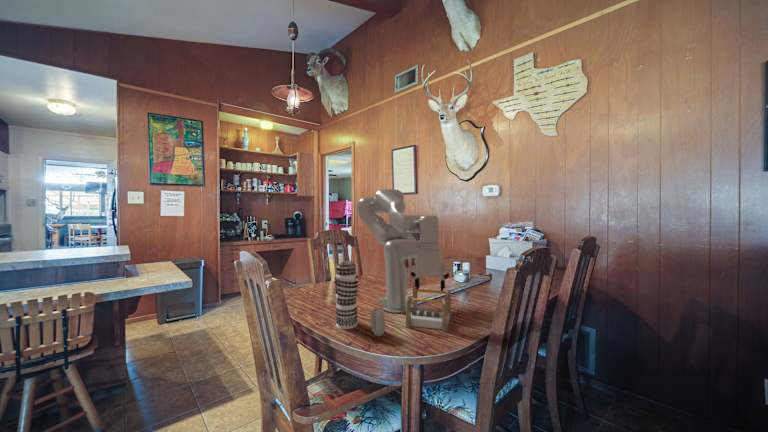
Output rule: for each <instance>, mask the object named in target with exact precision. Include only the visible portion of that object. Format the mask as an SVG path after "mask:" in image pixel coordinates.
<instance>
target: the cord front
mask: <svg viewBox="0 0 768 432" xmlns="http://www.w3.org/2000/svg"><path fill="white" fill-rule="evenodd" d="M410 300H411V302H413V301H417V302H422V303H435V304H442V303H443V302H442V300H441V299H428V298H427V299H426V298H418V297H417V298H413V297H411V299H410Z"/></svg>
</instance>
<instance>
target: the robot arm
mask: <svg viewBox="0 0 768 432" xmlns="http://www.w3.org/2000/svg"><path fill="white" fill-rule="evenodd" d="M404 197H405V196H404V194H403V192H402V191H400V190H399V189H393V188H392V189H390V188H385V189H384V188H383V189H379V190H377V191H376V192H375V194H374V196H367V197H366V196H365V197H362V198H360V199H359V200H358V202H357V203H356V210H357V211H356V212H357V215H358V217H359V219H360V220H361V221H362V223H363V224H364V225H365V226H366V227H367V228H368V229H369V230H370V232H371V234H372V235H373V236H374V238H375V239H376V240H377V242H378V243H379V244H381V245H383V247H382V248H383V256H384V261H385V262H384V263H385V297H377V303H379V304H383V305H382V309H383V311H385V312H388V313H392V314H393V313H394V314H395V313H396V314H400V313H401V314H402V313H406V296H408V285H407V284H408V281H407V280H408V272H409V273H410V275H411V277H413V279H414V287H416V289H420V278H419V277H420V276H425V277H439V278H440V291H444V289H446V280H447V279H448V278H449V277H450V275H451V273H452V271H453V268H450V267H449V266H447V265H445V264H444V263H443V256H442V251H441V249H440V244H439V242H440V238H439V235H440V234H439V217H438V216H437V215H424V214H404V211H405V209H406V204H405V202H404ZM378 214H388V220H389V224H388V223H387V222H386V220H385V219H384V218H383V217H381V216H380V215H378ZM412 234H419V242H418V240H417V239H416V238H415V237H414V235H412ZM411 259H416V261H415V262H416V263H415V264H413V265H411V266H409V267H408V268H407V267H406V265H405V263H404V262H403V261H404V260H411ZM414 269H415V271H414ZM407 270H408V272H407ZM443 270H445V271H446V274H444V273H443Z"/></svg>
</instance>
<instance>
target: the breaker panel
mask: <svg viewBox="0 0 768 432" xmlns="http://www.w3.org/2000/svg"><path fill="white" fill-rule="evenodd" d="M449 322H450V320H449V313H448V325H449ZM411 327H419V328H428V329H433V330H434V329H435V330H442V311H441V312H440V310H436V309H435V311H432V309H427V310H425V308H424V309H423V308H420V309H418V308H417V309H414V308H413V307H412V308H411Z"/></svg>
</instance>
